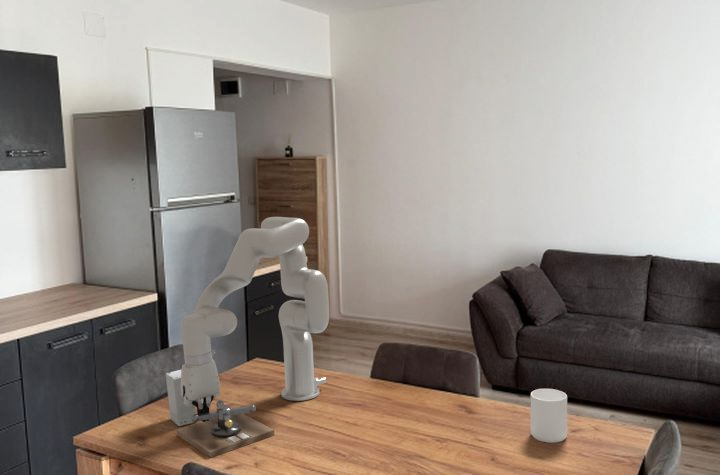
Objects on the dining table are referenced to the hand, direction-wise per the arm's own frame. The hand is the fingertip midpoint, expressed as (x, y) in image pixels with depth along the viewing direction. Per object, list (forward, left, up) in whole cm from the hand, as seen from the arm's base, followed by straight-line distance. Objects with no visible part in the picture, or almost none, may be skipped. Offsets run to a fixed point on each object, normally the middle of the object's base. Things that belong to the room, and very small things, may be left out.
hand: (204, 419), depth 189 cm
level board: (-4, +4, -5) cm, 7 cm away
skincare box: (0, -15, -5) cm, 15 cm away
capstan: (-4, +4, -3) cm, 7 cm away
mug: (-68, +68, -5) cm, 97 cm away
